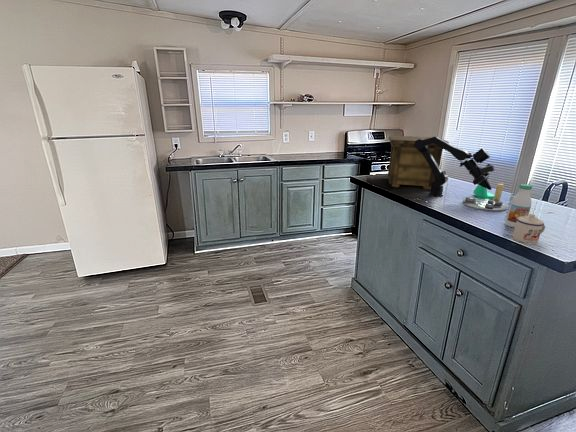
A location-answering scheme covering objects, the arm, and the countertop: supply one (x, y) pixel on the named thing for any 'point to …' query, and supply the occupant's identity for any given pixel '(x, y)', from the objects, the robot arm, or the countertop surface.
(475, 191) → the camera mount
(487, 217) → the countertop surface
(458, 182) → the countertop surface
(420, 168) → the crate
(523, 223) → the teacup with lid
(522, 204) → the milk bottle
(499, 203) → the tan post with disc
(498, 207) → the plate
